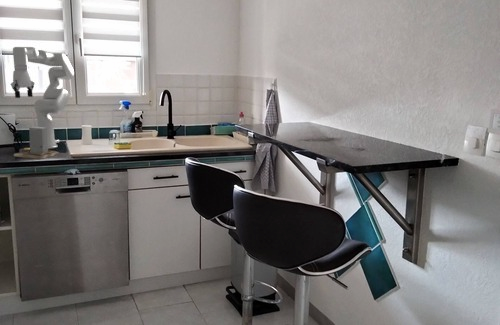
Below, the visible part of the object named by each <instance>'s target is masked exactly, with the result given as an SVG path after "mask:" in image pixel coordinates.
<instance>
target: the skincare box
mask: <svg viewBox="0 0 500 325" xmlns="http://www.w3.org/2000/svg"><path fill="white" fill-rule="evenodd" d="M28 129H29V131H28V132H29V148H30V153H33V154H43V153H47V152H48V150H49V149H48V136H47V128H46V127H38V126H33V127H31V126H30V127H29V128H28Z"/></svg>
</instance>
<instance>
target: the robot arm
mask: <svg viewBox="0 0 500 325" xmlns="http://www.w3.org/2000/svg"><path fill="white" fill-rule="evenodd" d="M12 55H13V57H12V58H13V65H14V66H13V68H14V70H13V72H12V82H11V83H10V86H11V88H12V91H13V92H14V97H15V99H20V98H21V92H20V89H22V88H26V89H27V90H26V91H27V97H29V98H33V95H34V94H33V90H34V88H35V81H33V80H32V78H31V73H30V70H29V68H30V67H29V63H33V64H40V65H45V66H48V67H49V66H50V68H48V72H47V75H48V79H49V85H48V86H47V87H46V89H45V91H44V93H43V95H42V98H39V99H37V100H35V102H34V104H33V105H34V106H33V107H34V110H35V115H36V122H37V127H46V128H47V136H48V150H51V149H55V148H58V144H57V143H60V139H55V129H54V118H53V117H52V116H51V115H59V114H61V113H62V112H63V111H64V109H65V107H66V106H67V104H68V102H69V99H70V95H69V91H68V90H67V89H64V88H63V84H62V83H61V81H60V80H72V79H73V78H74V77H75V71H74V68H73V66H72V64H71V62H70V60H69V58H68V57H67V55H66V54H65V53H62V52H61V53H59V52H58V53H57V52H49V51H45V50H43V49H37V48H36V47H32V46H14V47H13V48H12Z"/></svg>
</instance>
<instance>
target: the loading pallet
mask: <svg viewBox="0 0 500 325" xmlns="http://www.w3.org/2000/svg"><path fill="white" fill-rule="evenodd" d="M18 150H19V152H16V153H14V154H13V157H15V158H24V159H25V158H27V159H35V160H36V159H37V160H38V159H39V160H41V159H46V158H50V157H53V156H58V155H60V152H59V151H56V150H50V149H48V152H47V153H43V154H33V153H30V149H29V150H24V148H20V149H18Z"/></svg>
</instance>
